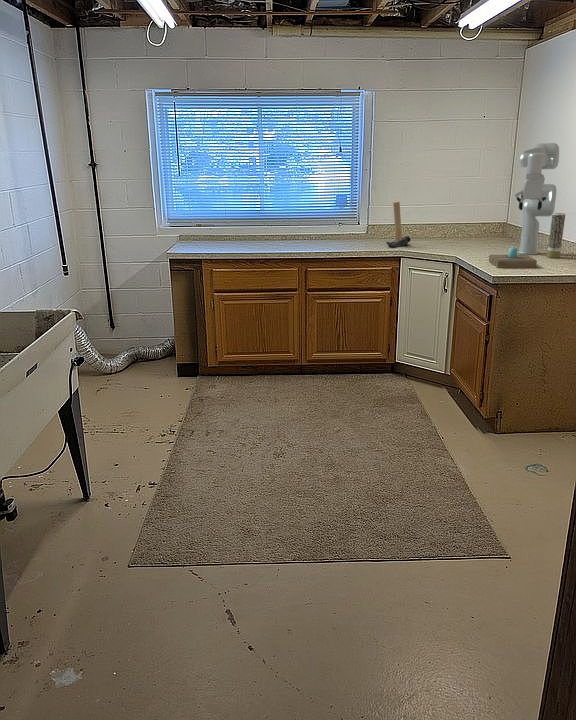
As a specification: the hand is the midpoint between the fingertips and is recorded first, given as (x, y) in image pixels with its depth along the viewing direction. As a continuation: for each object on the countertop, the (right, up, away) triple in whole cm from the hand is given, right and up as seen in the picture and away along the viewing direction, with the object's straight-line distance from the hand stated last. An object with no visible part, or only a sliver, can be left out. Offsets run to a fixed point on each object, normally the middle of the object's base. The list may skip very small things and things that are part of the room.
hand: (529, 209), depth 328 cm
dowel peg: (-11, -31, -1) cm, 32 cm away
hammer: (-59, -6, +72) cm, 94 cm away
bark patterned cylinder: (+21, -23, +19) cm, 37 cm away
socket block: (-11, -30, -1) cm, 32 cm away
